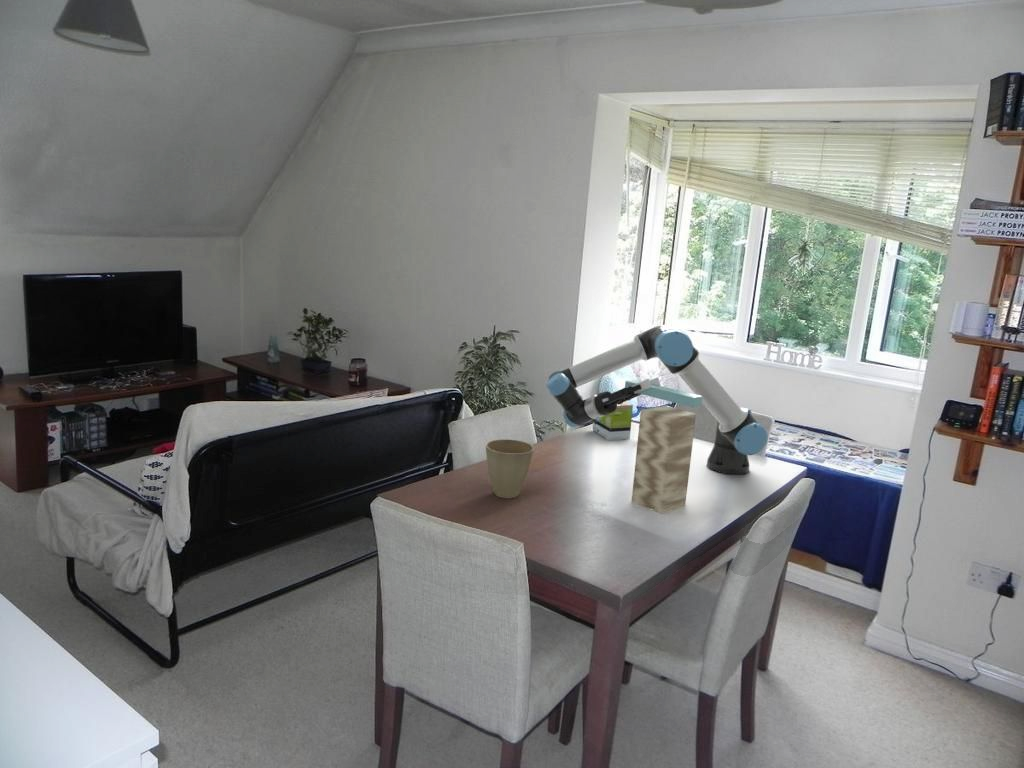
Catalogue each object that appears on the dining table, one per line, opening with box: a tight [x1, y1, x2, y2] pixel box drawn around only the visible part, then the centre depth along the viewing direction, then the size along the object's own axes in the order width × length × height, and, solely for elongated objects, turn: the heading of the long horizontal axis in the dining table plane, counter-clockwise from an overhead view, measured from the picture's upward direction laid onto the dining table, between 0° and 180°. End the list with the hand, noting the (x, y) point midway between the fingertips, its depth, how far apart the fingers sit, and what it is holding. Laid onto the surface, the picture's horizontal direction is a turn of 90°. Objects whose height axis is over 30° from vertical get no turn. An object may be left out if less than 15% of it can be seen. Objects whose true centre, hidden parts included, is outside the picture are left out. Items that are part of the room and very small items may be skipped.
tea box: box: [592, 401, 634, 441], centre depth 323 cm, size 15×10×15 cm
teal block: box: [624, 379, 703, 408], centre depth 242 cm, size 26×4×3 cm, turn 43°
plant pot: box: [485, 438, 534, 499], centre depth 245 cm, size 15×15×16 cm
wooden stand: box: [631, 405, 697, 515], centre depth 245 cm, size 12×12×30 cm
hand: (654, 382), depth 244 cm, fingers closed on teal block, 4 cm apart
